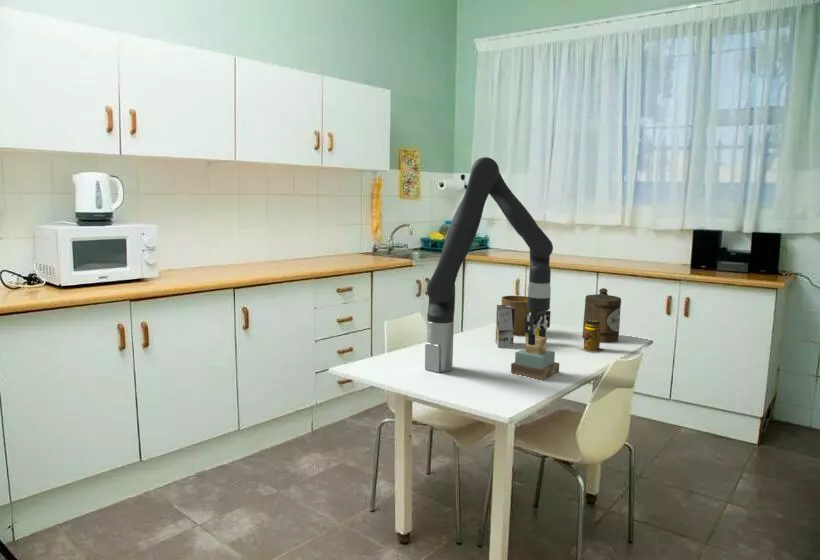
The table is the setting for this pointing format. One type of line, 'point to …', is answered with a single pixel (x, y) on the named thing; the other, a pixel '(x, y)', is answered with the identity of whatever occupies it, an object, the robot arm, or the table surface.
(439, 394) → the table surface
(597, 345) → the condiment
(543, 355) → the tower top slab
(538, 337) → the oak block
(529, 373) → the tower bottom slab
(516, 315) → the plant pot
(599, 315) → the wooden container
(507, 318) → the coffee box
